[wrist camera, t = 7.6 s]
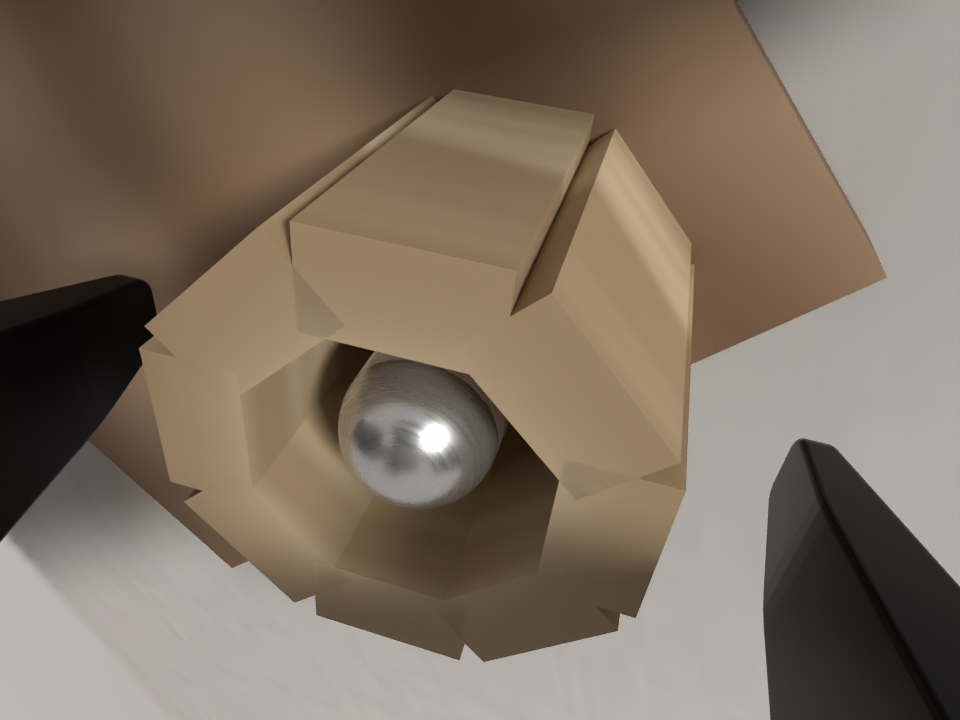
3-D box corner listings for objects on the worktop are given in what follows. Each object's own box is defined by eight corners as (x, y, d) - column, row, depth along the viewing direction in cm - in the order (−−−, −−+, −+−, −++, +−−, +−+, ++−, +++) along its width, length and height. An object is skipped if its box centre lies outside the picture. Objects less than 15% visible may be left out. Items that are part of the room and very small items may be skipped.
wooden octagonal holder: (535, 7, 9) (405, 98, 5) (753, 338, 11) (779, 593, 7) (271, 231, 12) (66, 395, 8) (475, 461, 14) (385, 684, 10)
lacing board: (255, -856, 7) (160, -1011, 6) (868, 235, 11) (886, 277, 10) (-169, 127, 16) (-240, 146, 15) (260, 527, 20) (231, 568, 19)
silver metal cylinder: (508, 201, 11) (393, 382, 7) (580, 298, 12) (512, 515, 8) (419, 262, 12) (275, 450, 8) (490, 347, 13) (388, 562, 9)
